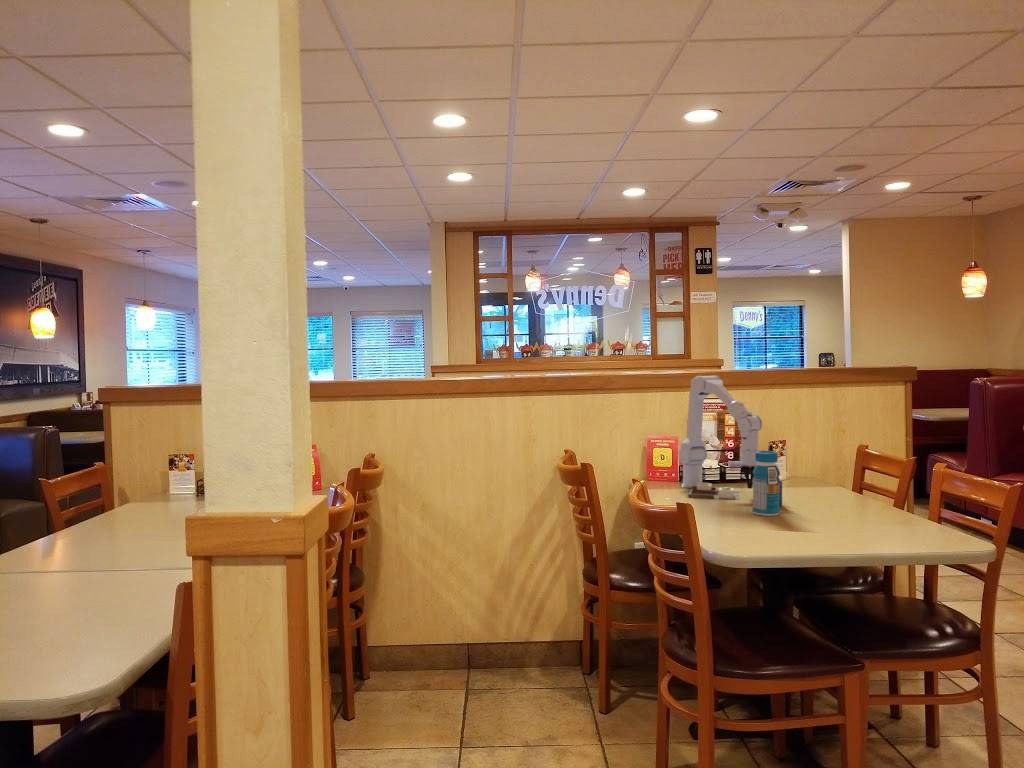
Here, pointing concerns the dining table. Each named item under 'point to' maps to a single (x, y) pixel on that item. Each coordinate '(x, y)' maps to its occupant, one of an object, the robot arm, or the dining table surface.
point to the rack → (709, 494)
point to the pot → (726, 492)
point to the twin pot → (704, 486)
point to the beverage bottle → (766, 484)
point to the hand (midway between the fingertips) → (749, 488)
